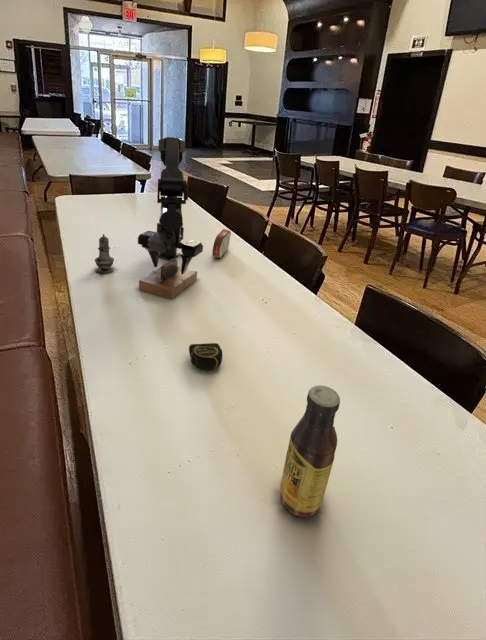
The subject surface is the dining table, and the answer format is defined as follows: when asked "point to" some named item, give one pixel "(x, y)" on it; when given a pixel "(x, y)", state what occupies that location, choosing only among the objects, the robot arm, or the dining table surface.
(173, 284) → the wooden block
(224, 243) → the brown white rounded block
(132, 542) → the dining table surface
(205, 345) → the tape measure
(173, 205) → the robot arm
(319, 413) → the sauce bottle
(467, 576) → the dining table surface
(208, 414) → the dining table surface
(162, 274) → the dark grey block
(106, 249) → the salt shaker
